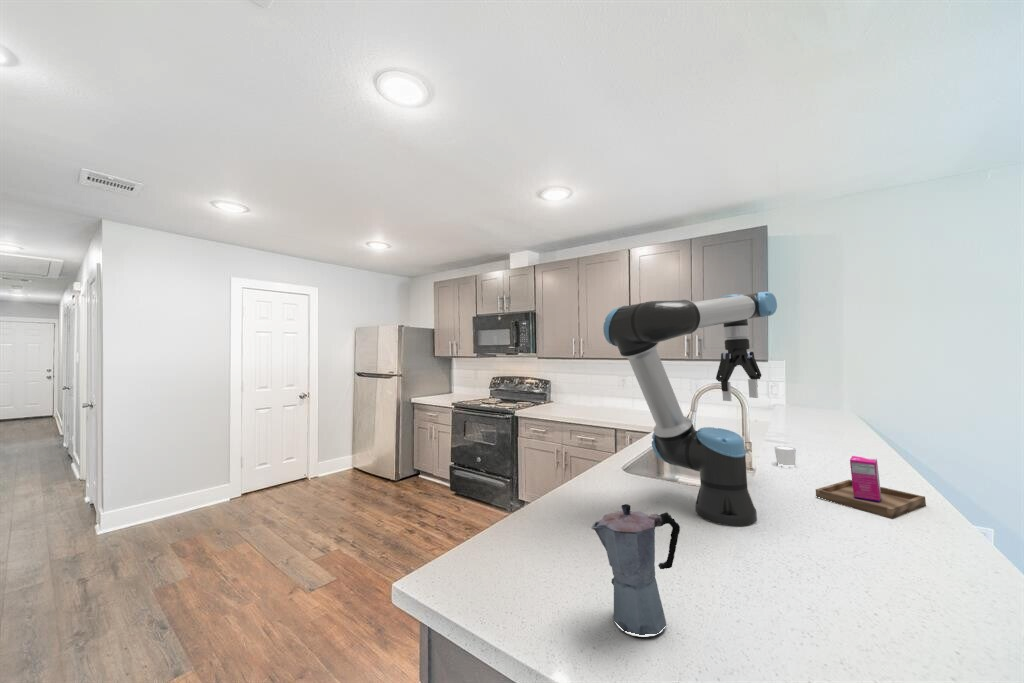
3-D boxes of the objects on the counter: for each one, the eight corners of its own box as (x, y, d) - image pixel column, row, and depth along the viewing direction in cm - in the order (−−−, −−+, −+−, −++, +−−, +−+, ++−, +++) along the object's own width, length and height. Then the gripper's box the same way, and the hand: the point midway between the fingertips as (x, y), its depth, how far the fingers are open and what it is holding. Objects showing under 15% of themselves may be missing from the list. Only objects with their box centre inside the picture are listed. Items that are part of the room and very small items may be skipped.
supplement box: (855, 493, 118) (852, 455, 119) (881, 497, 114) (878, 458, 114) (852, 498, 114) (849, 459, 115) (880, 503, 110) (876, 462, 111)
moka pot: (589, 607, 72) (583, 497, 73) (669, 599, 73) (663, 491, 74) (606, 645, 62) (599, 518, 63) (698, 635, 64) (690, 511, 64)
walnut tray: (892, 518, 102) (891, 509, 102) (816, 497, 119) (815, 489, 119) (925, 505, 109) (925, 496, 110) (849, 487, 126) (848, 479, 126)
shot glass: (800, 468, 147) (799, 450, 148) (780, 468, 149) (779, 449, 149) (791, 463, 154) (790, 445, 154) (772, 463, 156) (771, 445, 156)
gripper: (750, 338, 146) (754, 395, 145) (702, 340, 136) (706, 401, 135) (770, 337, 139) (774, 397, 138) (721, 338, 129) (725, 403, 128)
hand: (740, 399), depth 136 cm, fingers open, 13 cm apart
